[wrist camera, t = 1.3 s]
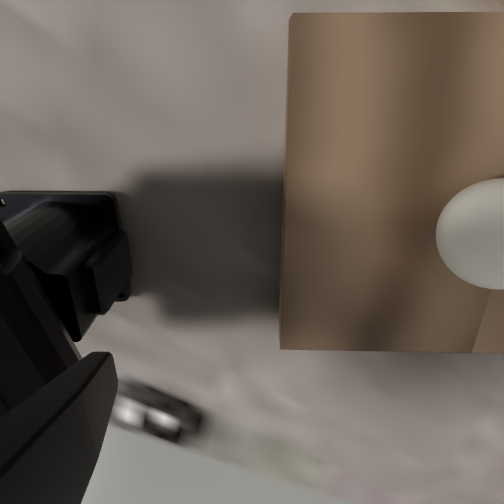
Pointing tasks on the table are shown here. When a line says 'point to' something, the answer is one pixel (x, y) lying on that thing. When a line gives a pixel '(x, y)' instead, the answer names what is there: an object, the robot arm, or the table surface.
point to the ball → (474, 234)
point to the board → (387, 178)
